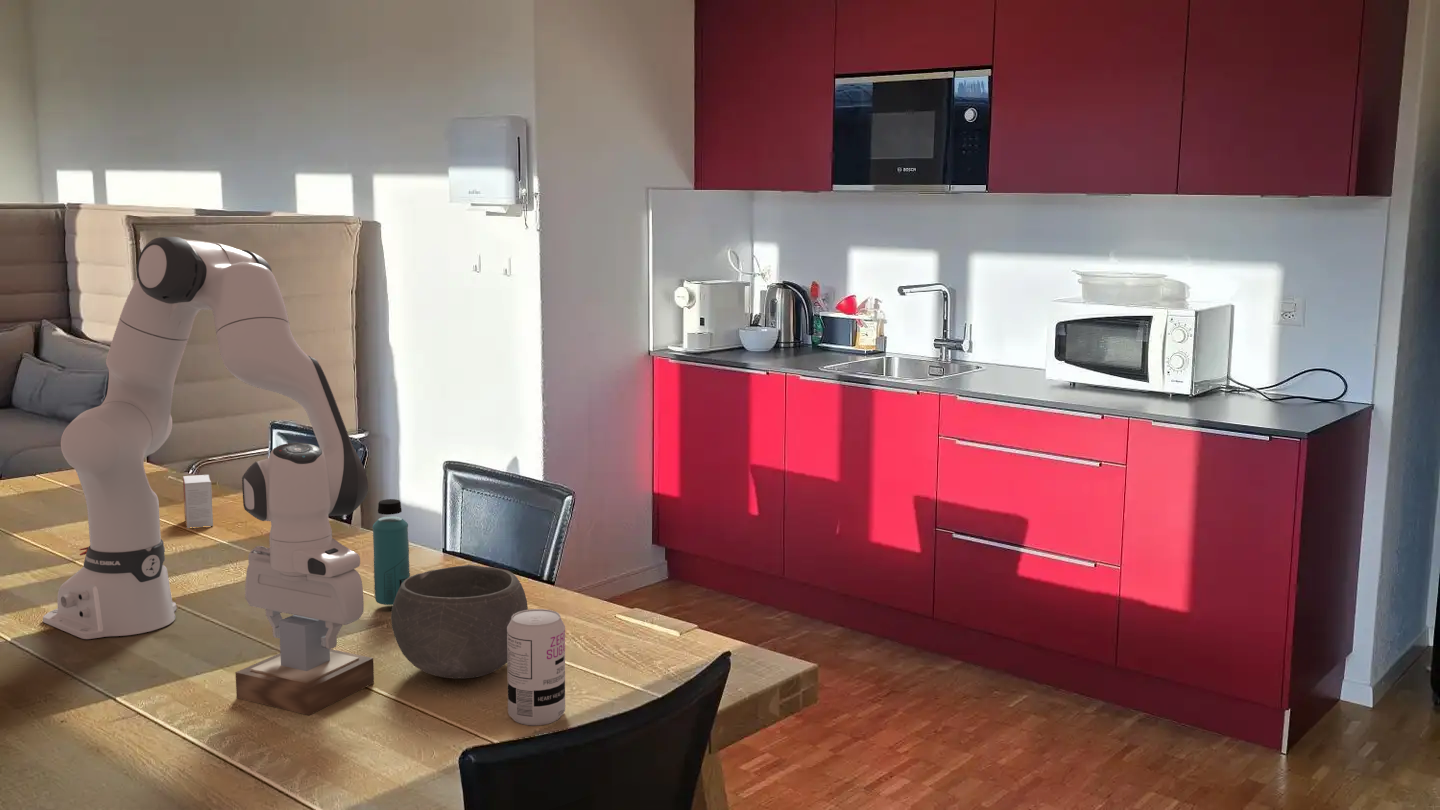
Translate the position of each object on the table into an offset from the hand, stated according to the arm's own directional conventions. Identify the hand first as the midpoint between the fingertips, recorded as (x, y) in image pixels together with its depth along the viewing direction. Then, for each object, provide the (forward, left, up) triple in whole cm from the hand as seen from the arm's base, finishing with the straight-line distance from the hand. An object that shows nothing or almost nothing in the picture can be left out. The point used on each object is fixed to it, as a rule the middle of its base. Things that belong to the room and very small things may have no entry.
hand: (304, 642), depth 191 cm
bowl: (+16, +17, -8) cm, 25 cm away
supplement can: (+36, +8, -8) cm, 38 cm away
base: (0, 0, -8) cm, 8 cm away
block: (0, 0, -3) cm, 3 cm away
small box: (-90, +63, -8) cm, 110 cm away
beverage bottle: (-14, +37, -8) cm, 40 cm away
